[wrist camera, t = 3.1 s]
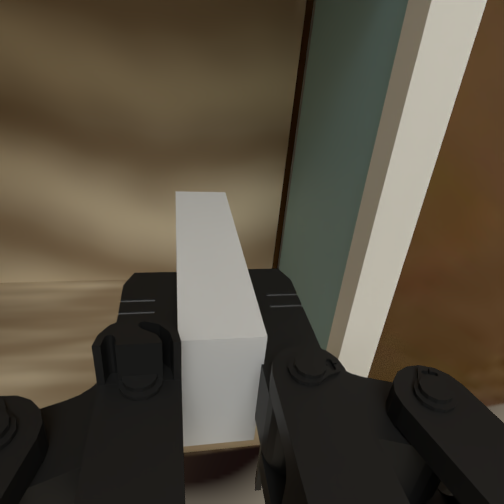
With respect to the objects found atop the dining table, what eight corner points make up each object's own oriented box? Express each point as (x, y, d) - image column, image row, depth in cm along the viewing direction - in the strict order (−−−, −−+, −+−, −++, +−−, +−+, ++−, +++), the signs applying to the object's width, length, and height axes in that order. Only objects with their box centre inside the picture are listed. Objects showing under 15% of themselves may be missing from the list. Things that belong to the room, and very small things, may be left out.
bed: (-167, -163, 15) (-906, -533, 5) (312, -91, 18) (491, -213, 8) (-25, 290, 25) (-161, 488, 15) (266, 282, 28) (320, 438, 18)
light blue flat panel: (317, -64, 18) (476, -175, 7) (344, -61, 18) (539, -164, 7) (273, 275, 27) (313, 454, 16) (291, 275, 27) (343, 453, 16)
